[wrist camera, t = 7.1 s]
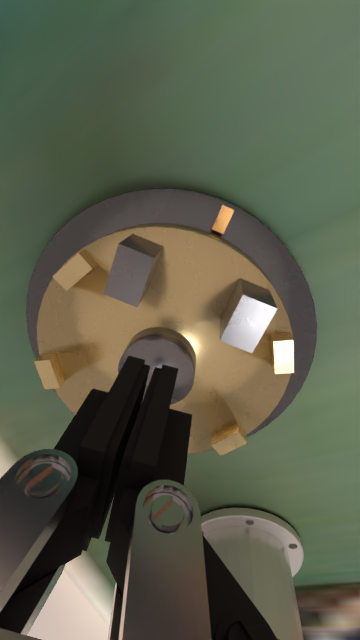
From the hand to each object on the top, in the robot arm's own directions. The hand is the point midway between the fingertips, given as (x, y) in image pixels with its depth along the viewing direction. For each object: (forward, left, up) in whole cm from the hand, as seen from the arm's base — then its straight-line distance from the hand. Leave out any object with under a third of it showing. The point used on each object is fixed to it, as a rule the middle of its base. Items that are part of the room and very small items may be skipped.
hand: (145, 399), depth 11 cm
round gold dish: (-5, +1, -13) cm, 14 cm away
